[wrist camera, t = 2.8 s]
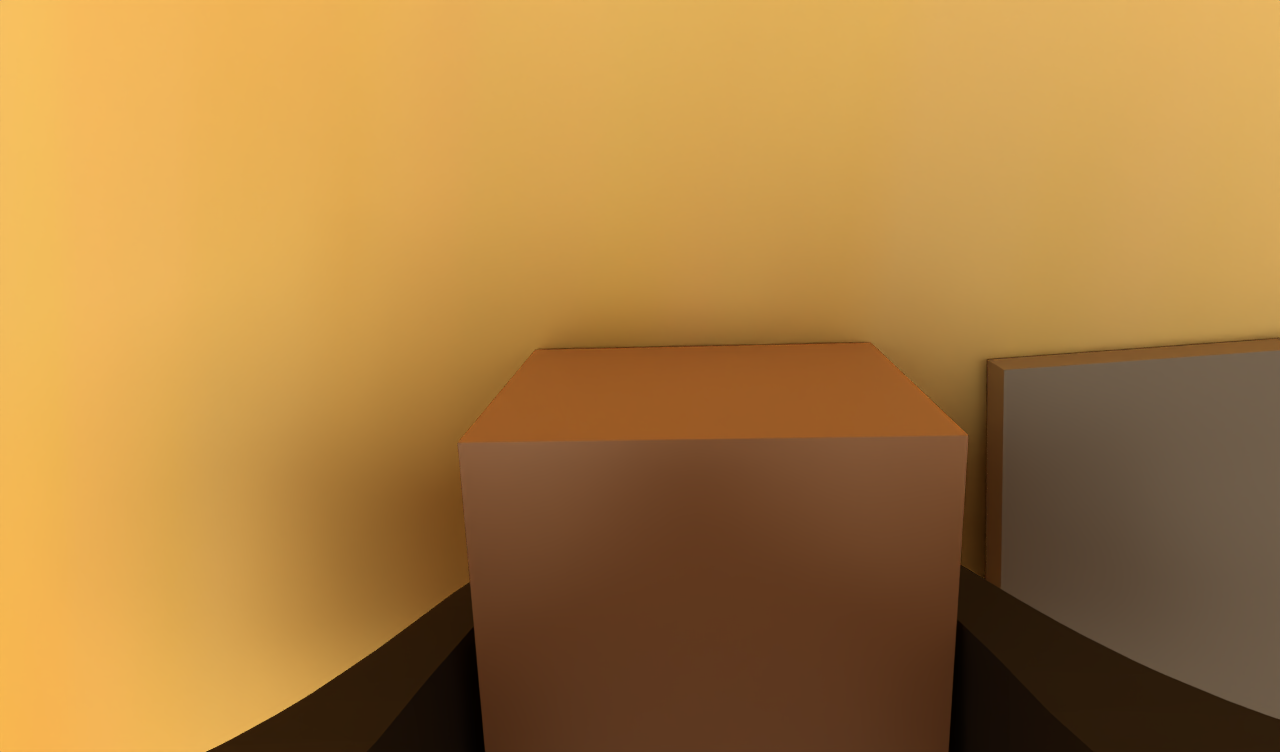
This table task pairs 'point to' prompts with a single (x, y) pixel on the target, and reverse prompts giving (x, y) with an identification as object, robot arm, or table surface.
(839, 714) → the brown brick
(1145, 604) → the baseplate
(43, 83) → the table surface
